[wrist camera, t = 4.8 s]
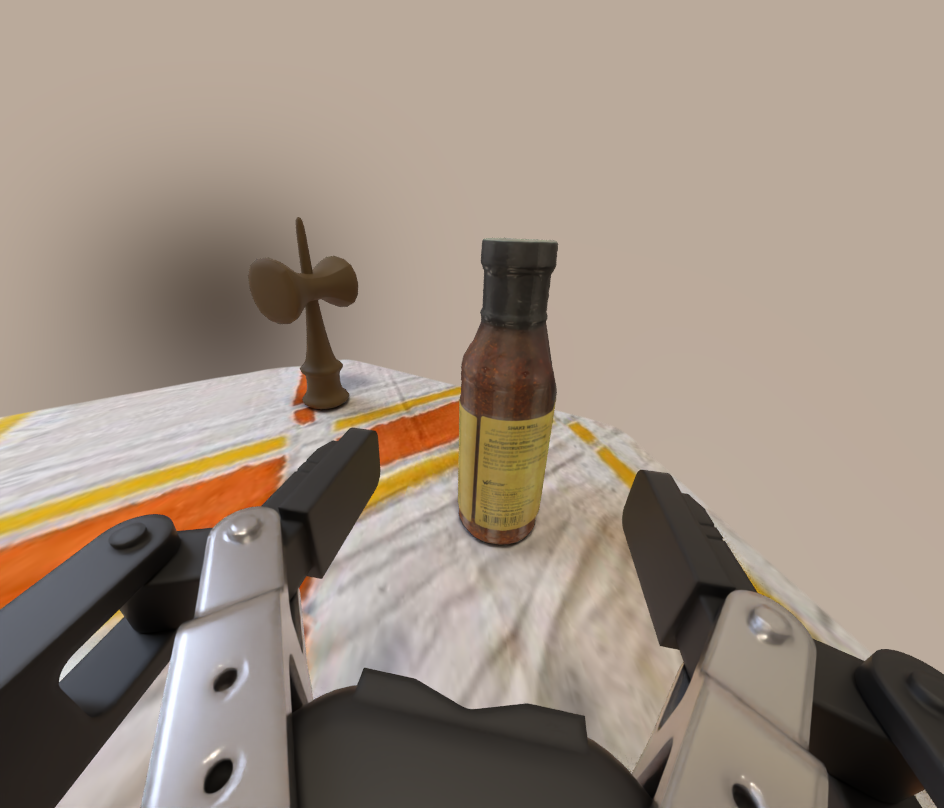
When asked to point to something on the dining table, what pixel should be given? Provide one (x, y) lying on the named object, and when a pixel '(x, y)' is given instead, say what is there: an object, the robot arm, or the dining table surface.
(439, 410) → the dining table surface
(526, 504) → the sauce bottle
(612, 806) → the robot arm
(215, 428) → the dining table surface
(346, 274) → the kendama
